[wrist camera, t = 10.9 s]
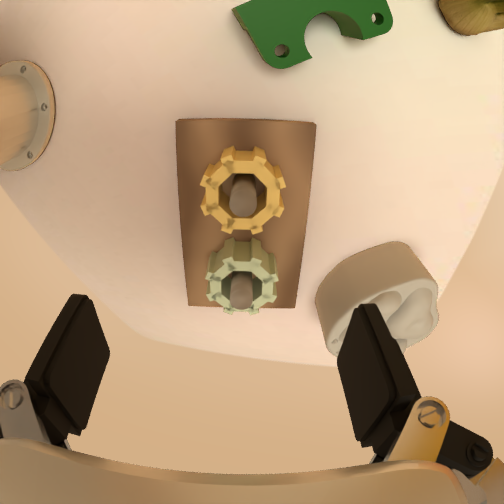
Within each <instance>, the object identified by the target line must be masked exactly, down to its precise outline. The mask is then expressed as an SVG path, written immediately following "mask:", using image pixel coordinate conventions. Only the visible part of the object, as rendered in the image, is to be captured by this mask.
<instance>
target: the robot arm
mask: <svg viewBox="0 0 504 504" xmlns="http://www.w3.org/2000/svg"><path fill="white" fill-rule="evenodd" d="M54 115H55V107H54V97H53V91H52V88H51V85H50V82H49V80H48V78H47V76H46V75H45V73H44V72H43V71H42V70H41V69H40V67H38V66H37V65H35V64H34V63H32V62H29V61H11V62H8V63H6V64H3V65H2V66H0V168H1V169H3V170H7V171H17V170H20V169H23V168H25V167H27V166H29V165H30V164H32V163H33V162H34V161H35V160H37V158H38V157H39V156H40V155H41V154H42V152H43V151H44V149H45V147H46V146H47V143H48V141H49V138H50V136H51V132H52V128H53V124H54ZM109 356H110V350H109V347H108V344H107V341H106V339H105V336H104V333H103V330H102V328H101V325H100V322H99V319H98V316H97V313H96V310H95V307H94V304H93V301H92V300H91V299H89V298H88V296H87V295H80V294H72V295H71V296H70V297H69V299H68V301H67V302H66V304H65V306H64V307H63V309H62V311H61V312H60V314H59V316H58V317H57V319H56V321H55V322H54V324H53V326H52V328H51V330H50V331H49V333H48V335H47V337H46V338H45V340H44V342H43V344H42V346H41V348H40V349H39V351H38V353H37V355H36V357H35V359H34V361H33V363H32V365H31V367H30V369H29V371H28V373H27V375H26V377H25V380H24V382H21V381H19V380H9V381H7V382H5V383H4V384H2V386H1V387H0V504H504V463H503V462H502V461H501V460H500V459H499V458H496V459H494V458H493V450H492V447H491V445H490V443H489V442H488V441H487V440H486V439H485V438H483V437H481V436H479V435H477V434H475V433H473V432H472V431H470V430H468V429H465V428H464V427H462V426H460V425H458V424H456V423H454V422H452V421H450V413H449V410H448V408H447V406H446V405H445V404H444V403H443V402H442V401H441V400H439V399H438V398H435V397H427V396H426V397H423V398H422V397H421V395H420V393H419V391H418V388H417V386H416V383H415V381H414V378H413V376H412V374H411V371H410V369H409V367H408V364H407V362H406V360H405V358H404V355H403V353H402V351H401V349H400V347H399V344H398V342H397V341H396V339H394V338H392V336H391V333H390V331H389V329H388V327H387V325H386V323H385V321H384V319H383V316H382V314H381V312H380V310H379V308H378V306H377V305H376V304H375V303H367V304H360V305H359V306H358V308H354V310H353V313H352V316H351V319H350V322H349V325H348V328H347V331H346V334H345V337H344V340H343V343H342V346H341V349H340V351H339V354H338V357H337V366H338V370H339V374H340V377H341V381H342V385H343V389H344V393H345V397H346V401H347V405H348V409H349V413H350V417H351V421H352V425H353V430H354V433H355V438H356V440H357V441H360V442H361V446H362V448H363V447H369V446H372V447H373V451H374V453H375V454H374V456H373V458H372V459H371V461H370V463H369V464H366V465H359V466H353V467H346V468H338V469H330V470H320V471H311V472H299V473H285V474H248V475H247V474H246V475H245V474H212V473H198V472H186V471H176V470H168V469H160V468H153V467H146V466H140V465H134V464H129V463H123V462H118V461H113V460H109V459H104V458H100V457H96V456H92V455H88V454H84V453H80V452H76V451H72V450H71V448H70V445H69V443H68V441H67V436H68V433H71V434H74V435H78V436H80V435H81V431H82V430H84V429H85V428H86V426H87V423H88V419H89V416H90V413H91V410H92V407H93V404H94V400H95V398H96V394H97V392H98V388H99V385H100V383H101V380H102V377H103V374H104V371H105V368H106V365H107V363H108V360H109Z"/></svg>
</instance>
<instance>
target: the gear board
mask: <svg viewBox="0 0 504 504" xmlns="http://www.w3.org/2000/svg"><path fill="white" fill-rule="evenodd" d="M315 137H316V124H315V123H313V122H301V121H287V120H269V119H237V118H205V119H179V120H177V121H176V153H177V176H178V194H179V209H180V223H181V236H182V247H183V258H184V269H185V278H186V288H187V297H188V305H189V306H206V307H223V306H222V305H220V304H219V303H218V302H216V301H215V300H213V301H209V299H208V297H207V296H206V291H207V286H208V280H206V279H205V276H206V271H207V266H208V261H209V257H210V255H211V253H212V251H213V252H216V253H217V252H219V251H220V250H221V249H222V248H223V247H224V243H225V240H227V239H230V238H233V237H234V239H235V241H239V242H250V241H251V239H252V238H255V239H257V240H260V241H261V248H262V249H263V250H264V251H265V252H267V253H268V254H270V253H273V254H274V256H275V259H276V264H277V271H278V279H279V281H277V282H276V290H277V297H276V299H275V301H274V302H273V303H271V302H267V303H265V304H264V305H263V306H261V307H260V308H295V304H296V297H297V290H298V284H299V277H300V269H301V262H302V255H303V247H304V239H305V232H306V223H307V215H308V206H309V198H310V188H311V179H312V169H313V159H314V148H315ZM231 146H234V147H235V150H236V151H253V149H254V147H255V146H256V147H258V148H261V149H263V150H265V155H266V160H267V161H268V162H269V163H270V164H271V165H272V166H273V167H274V166H276V165H279V168H280V170H281V173H282V176H283V179H284V182H285V185H286V187H285V188H282V189H280V193H281V197H282V201H283V204H284V210H283V212H282V214H281V216H280V218H279V217H277V216H273V217H271V218H270V219H269V220H268V221H267V222H265V223H264V224H263V225H262V226H263V231H262V232H259V233H256V234H252V232H251V230H242V229H233V231H232V233H231V234H229V233H226V232H224V231H221V227H222V224H221V223H220V222H219V221H218V220H217V219H216V218H214V217H213V216H212V215H211V214H209V215H206V216H205V215H204V213H203V211H202V209H201V207H200V206H201V203H202V201H203V198H204V195H205V193H206V187H203V186H201V185H200V183H201V180H202V178H203V176H204V173H205V171H206V169H207V167H208V165H209V163H210V164H212V165H215V164H216V163H218V162H219V161H220V158H221V156H222V153H223V150H224V149H226V148H228V147H231ZM264 189H265V185H264V184H263V183H262V182H261V181H260V180H259V179H258V178H257V177H256V176H255V175H254V174H250V173H232V174H231V175H230V176H229V177H228V178H227V179H226V180H225V181H224V182H223V183H222V191H223V192H224V193H226V194H227V195H228V196H229V197H230V202H229V206H230V209H231V211H232V212H233V213H234V214H235V215H237V216H239V217H247V216H250V215H251V214H253V213H254V212H255V210H256V207H257V197H258V196H259V195H261V194H262V193H263V192H264ZM227 276H229V277H230V278H231V291H230V304H231V305H232V306H233V307H234V308H236V309H239V310H244V309H247V308H249V307H250V306H251V305H252V303H253V290H252V280H253V279H254V278H255V277H257V276H256V275H255V274H253V273H252V272H251V271H232V272H231V273H230V274H228V275H227Z"/></svg>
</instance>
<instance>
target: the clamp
mask: <svg viewBox="0 0 504 504" xmlns="http://www.w3.org/2000/svg"><path fill="white" fill-rule="evenodd" d="M231 10H232V11H233V13H234V15H235V16H236V18H237V20H238V21H239V23H240V25H241V27H242V28H243V29H245V30H247V32H248V34H249V35H250V37H251V39H252V41H253V42H254V44H255V46H256V48H257V50H258V52H259V53H260V55H261V57H262V59H263V60H264V61H265V62H266V63H268V64H269V65H270V66H272V67H274V68H278V69H284V68H288V67H291V66H293V65H296V64H298V63H301V62H303V61H305V60H308V59H311V58H312V56H311V55H310V54H309V52H308V51H307V49H306V46H305V42H304V33H305V29H306V26H307V24H308V23H309V21H310V20H311V19H312V18H313V17H314V16H316V15H318V14H319V13H322V12H323V13H326V14H328V15H329V16H331V17H332V18H333V19H334V20H335V21H336V22H337V24H338V26H339V28H340V31H341V35H344V36H348V37H353V38H357V39H361V40H365V39H368V38H372V37H375V36H378V35H382V34H385V33H387V32H388V31H389V30H390V29H391V27H392V24H393V18H392V14H391V12H390V9H389V6H388V4H387V1H386V0H251V1H249V2H246V3H244V4H242V5H239V6H237V7H235V8H233V9H231ZM372 14H374V15H375V17H376V20H375V22H374V23H373V21H372V18H371V17H372ZM280 44H283V45H284V46H285V53H284V54H283V55H281V56H276V55H275V48H276V46H278V45H280Z"/></svg>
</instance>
